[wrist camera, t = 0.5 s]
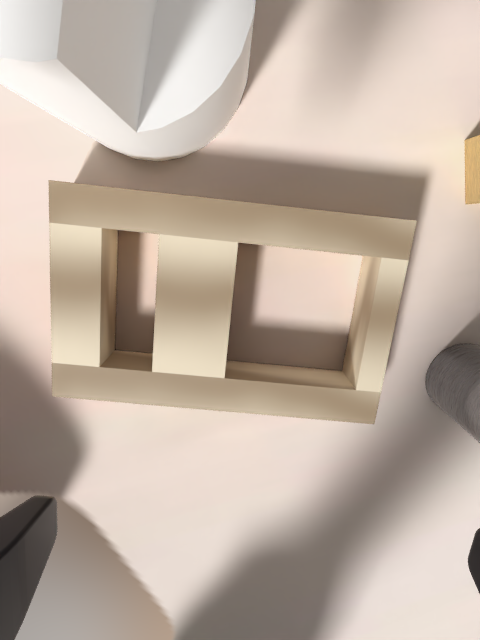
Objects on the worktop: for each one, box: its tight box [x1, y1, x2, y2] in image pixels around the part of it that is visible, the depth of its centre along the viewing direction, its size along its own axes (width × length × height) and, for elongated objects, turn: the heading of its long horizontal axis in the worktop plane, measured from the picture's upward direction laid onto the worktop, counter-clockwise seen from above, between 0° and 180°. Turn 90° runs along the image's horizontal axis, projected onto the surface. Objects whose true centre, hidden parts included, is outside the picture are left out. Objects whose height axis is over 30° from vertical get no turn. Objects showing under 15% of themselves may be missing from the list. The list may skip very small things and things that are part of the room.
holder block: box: [49, 180, 417, 424], centre depth 19 cm, size 10×16×2 cm, turn 84°
